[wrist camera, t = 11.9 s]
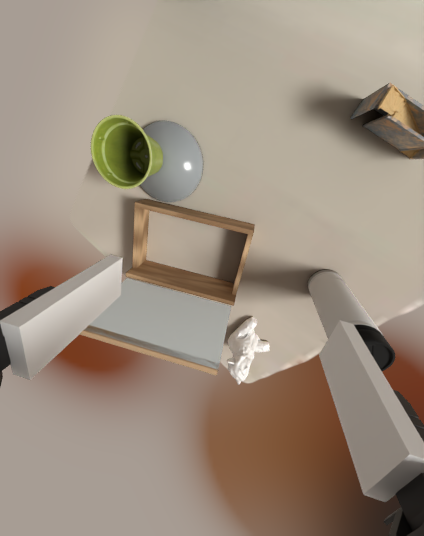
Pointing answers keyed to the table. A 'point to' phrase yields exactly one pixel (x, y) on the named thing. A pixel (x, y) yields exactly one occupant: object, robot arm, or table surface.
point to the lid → (164, 325)
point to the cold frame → (178, 277)
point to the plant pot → (124, 152)
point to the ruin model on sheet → (396, 120)
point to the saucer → (174, 162)
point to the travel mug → (347, 314)
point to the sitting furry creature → (244, 349)
